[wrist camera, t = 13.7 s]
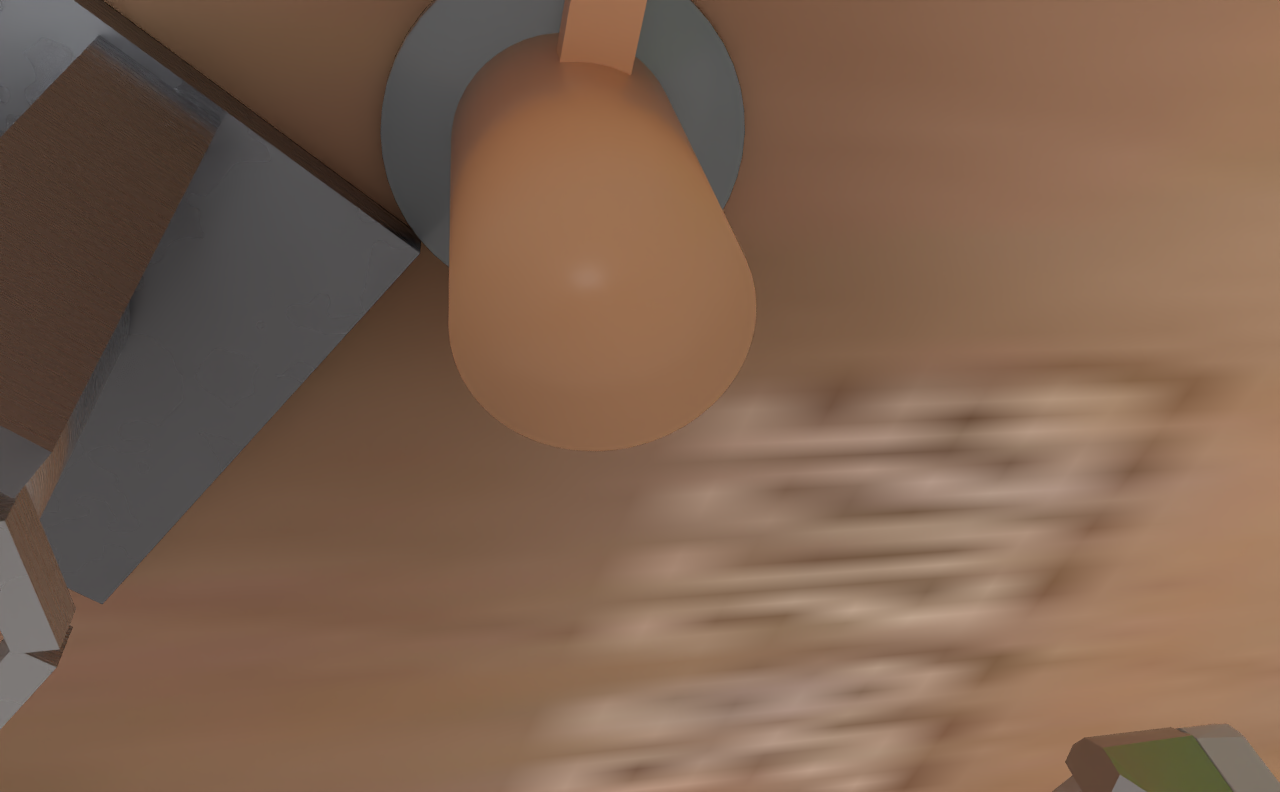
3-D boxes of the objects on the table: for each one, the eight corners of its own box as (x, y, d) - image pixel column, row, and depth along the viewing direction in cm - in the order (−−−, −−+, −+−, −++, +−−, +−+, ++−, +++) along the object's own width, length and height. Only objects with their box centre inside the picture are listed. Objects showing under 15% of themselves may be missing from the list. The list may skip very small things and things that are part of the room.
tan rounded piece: (629, 346, 31) (683, 561, 24) (426, 321, 30) (415, 541, 22) (727, -57, 25) (839, 58, 18) (483, -109, 24) (494, -7, 17)
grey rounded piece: (576, 351, 32) (578, 362, 31) (306, 151, 27) (304, 161, 27) (810, 120, 29) (816, 127, 28) (549, -143, 25) (551, -139, 24)
